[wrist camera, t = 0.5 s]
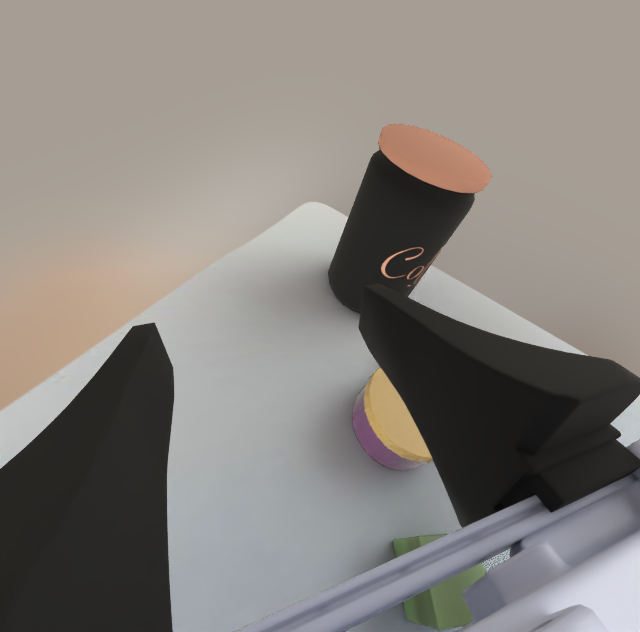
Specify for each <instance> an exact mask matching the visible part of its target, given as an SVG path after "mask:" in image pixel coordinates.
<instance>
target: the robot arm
mask: <svg viewBox="0 0 640 632" xmlns="http://www.w3.org/2000/svg"><path fill="white" fill-rule="evenodd" d="M359 330H360V332H361V334H362V337H363V339H364V341H365V343H366V345H367V347H368V349H369V350H370V352H371V354H372V355H373V357H374V358H375V360H376V361H377V363H378V364H379V366H380V367H381V369H382V370H383V372H384V373H385V374H386V376H387V377H388V379H389V380H390V382H391V383H392V385H393V386H394V388H395V389H396V391H397V392H398V394H399V395H400V397H401V399H402V400H403V402H404V403H405V405H406V407H407V409H408V411H409V413H410V415H411V417H412V418H413V420H414V422H415V424H416V426H417V428H418V430H419V432H420V434H421V436H422V438H423V440H424V442H425V444H426V446H427V448H428V450H429V452H430V455H431V457H432V459H433V461H434V463H435V466H436V468H437V470H438V472H439V474H440V476H441V479H442V481H443V483H444V486H445V488H446V491H447V493H448V495H449V498H450V500H451V503H452V505H453V507H454V510H455V513H456V515H457V518H458V520H459V523H460V525H461V526H462V528H461V529H459V530H457V531H455V532H452V533H450V534H448V535H446V536H444V537H441V538H439V539H437V540H435V541H433V542H430V543H428V544H426V545H424V546H422V547H419V548H417V549H415V550H413V551H411V552H408V553H406V554H404V555H402V556H400V557H397V558H395V559H393V560H391V561H389V562H386V563H384V564H382V565H380V566H377V567H375V568H373V569H371V570H369V571H366V572H364V573H362V574H360V575H358V576H355V577H353V578H351V579H349V580H347V581H344V582H342V583H340V584H338V585H336V586H333V587H331V588H329V589H327V590H325V591H322V592H320V593H318V594H316V595H314V596H311V597H309V598H307V599H305V600H303V601H300V602H298V603H296V604H294V605H292V606H289V607H287V608H285V609H283V610H280V611H278V612H276V613H274V614H272V615H269V616H267V617H265V618H263V619H261V620H258V621H256V622H254V623H252V624H250V625H247V626H245V627H243V628H241V629H239V630H236V631H234V632H344V631H346V630H348V629H350V628H352V627H354V626H356V625H358V624H360V623H362V622H364V621H366V620H368V619H370V618H372V617H374V616H376V615H378V614H380V613H382V612H384V611H386V610H388V609H390V608H392V607H394V606H396V605H398V604H400V603H402V602H404V601H406V600H408V599H410V598H412V597H414V596H416V595H418V594H420V593H422V592H424V591H426V590H428V589H430V588H432V587H434V586H436V585H438V584H440V583H442V582H444V581H446V580H448V579H450V578H452V577H454V576H456V575H458V574H460V573H462V572H464V571H466V570H468V569H470V568H472V567H474V566H476V565H478V564H480V563H482V562H484V561H486V560H488V559H490V558H492V557H494V556H496V555H498V554H500V553H502V552H504V551H506V550H508V549H510V548H511V549H510V557H511V558H509V559H508V560H506V561H504V562H502V563H501V564H499V565H497V566H495V567H494V568H492V569H490V570H489V571H488V572H487V573H486V574H485V575H484V576H483V577H482V578H480V579H479V580H478V581H476V582H475V583H473V584H472V585H471V586H469V587H468V588H466V589H465V590H463V591H462V597H463V599H464V601H465V603H466V605H467V607H468V608H469V610H470V612H471V614H472V618H473V621H472V622H470V623H468V624H467V625H465V626H463V627H461V628H459V629H458V630H456V631H454V632H640V440H638V441H636V442H634V443H632V444H631V445H629V446H628V447H624V446H623V445H622V444H621V443H620V442H618V441H617V440H616V439H617V438H619V437H620V436H621V433H620V432H619V431H618V430H617V429H616V428H614V427H613V426H612V425H611V424H610V423H611V422H612V421H613V420H614V419H615V418H616V417H618V416H619V415H620V414H621V413H622V412H623V411H624V410H625V409H626V408H627V407H628V406H629V405H630V404H631V403H632V402H633V401H634V400H635V399H636V398H637V397H638V396H639V394H640V378H639V377H638V376H636V375H635V374H633V373H631V372H630V371H629V370H627V369H626V368H624V367H622V366H621V365H619V364H618V363H616V362H614V361H612V360H609V359H603V358H597V357H591V356H585V355H579V354H573V353H567V352H562V351H558V350H553V349H548V348H544V347H539V346H535V345H531V344H527V343H523V342H519V341H516V340H512V339H509V338H505V337H502V336H499V335H495V334H492V333H489V332H486V331H483V330H481V329H478V328H475V327H472V326H470V325H467V324H464V323H462V322H459V321H457V320H454V319H452V318H450V317H448V316H445V315H443V314H441V313H438V312H436V311H434V310H432V309H430V308H428V307H426V306H424V305H422V304H420V303H418V302H416V301H414V300H412V299H410V298H408V297H406V296H404V295H402V294H400V293H398V292H396V291H394V290H392V289H390V288H388V287H386V286H383V285H381V284H373V285H367V286H364V288H363V296H362V305H361V313H360V321H359ZM173 404H174V376H173V366H172V364H171V361H170V359H169V357H168V354H167V352H166V349H165V347H164V344H163V342H162V339H161V337H160V335H159V332H158V330H157V327H156V325H155V323H149V324H144V325H138V326H133V327H132V328H131V330H130V331H129V332H128V333H127V335H126V336H125V337H124V338H123V340H122V341H121V342H120V344H119V345H118V346H117V347H116V349H115V350H114V351H113V353H112V354H111V355H110V357H109V358H108V359H107V360H106V362H105V363H104V364H103V365H102V367H101V368H100V369H99V370H98V372H97V373H96V374H95V375H94V377H93V378H92V379H91V380H90V381H89V382H88V383H87V385H86V386H85V387H84V388H83V389H82V390H81V391H80V392H79V394H78V395H77V396H76V397H75V398H74V399H73V400H72V402H71V403H70V404H69V405H68V406H67V407H66V408H65V409H64V410H63V411H62V412H61V413H60V414H59V415H58V416H57V417H56V418H55V419H54V420H53V421H52V422H51V423H50V424H49V425H48V426H47V427H46V428H45V429H44V430H43V431H42V432H41V433H40V434H39V435H38V436H37V437H36V438H35V439H34V440H33V441H32V442H31V443H29V444H28V445H27V446H26V447H25V448H24V449H23V450H22V451H21V452H19V453H18V454H17V455H16V456H15V457H14V458H12V459H11V460H10V461H9V462H8V463H7V464H6V465H4V466H3V467H2V468H1V469H0V632H173V631H172V616H171V600H170V584H169V560H168V532H167V463H168V453H169V443H170V433H171V424H172V414H173Z"/></svg>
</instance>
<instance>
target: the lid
mask: <svg viewBox="0 0 640 632" xmlns="http://www.w3.org/2000/svg"><path fill="white" fill-rule="evenodd" d="M365 388H366V389H365V393H364V397H363V399H364V406H365V410H364V411H365V412H366V415H367V418H368V421H369V425H371V427H372V429H373V431H374V432H375V434H376V435H377V438H379V439H380V440H381V441H382V442H383V443H384V444H385V445H386V446H387V447H388V449H390V450H392V451H393V452H394V453H396V454H398V455H400V457H404V458H406V459H409V460H412V461H414V462H416V461H418V462H427V463H428V462H430V461H433V459H432V457H431V455H430V452H429V450H428V448H427V446H426V444H425V442H424V440H423V438H422V436H421V434H420V432H419V430H418V428H417V426H416V424H415V422H414V420H413V418H412V417H411V415H410V413H409V411H408V409H407V407H406V405H405V403H404V402H403V400H402V399H401V397H400V395H399V394H398V392H397V391H396V389H395V388H394V386H393V385H392V383H391V382H390V380H389V379H388V377H387V376H386V374H385V373H384V372H383V370H382V369H381V367H379V369H378V370H377V371H376V372H375V373H374V374H372V375H371V377H370V380H369V381H368V383H367V385H366V386H365Z"/></svg>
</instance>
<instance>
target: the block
mask: <svg viewBox="0 0 640 632" xmlns="http://www.w3.org/2000/svg"><path fill="white" fill-rule="evenodd" d="M446 535H448V534H441V535H428V536H416V537H409V538H402V539H394V540H393V545H394V551H395V556H396V558H397V557H400V556H402V555H404V554H406V553H408V552H411V551H413V550H415V549H417V548H419V547H422V546H424V545H426V544H428V543H430V542H433V541H435V540H437V539H439V538H441V537H444V536H446ZM485 574H486V572H485V568H484V565H483V562H482V563H480V564H478V565H476V566H474V567H472V568H470V569H468V570H466V571H464V572H462V573H460V574H458V575H456V576H454V577H452V578H450V579H448V580H446V581H444V582H442V583H440V584H438V585H436V586H434V587H432V588H430V589H428V590H426V591H424V592H422V593H420V594H418V595H416V596H414V597H412V598H410V599H408V600H406V601H404V608H405V614H406V619H407V620H408V621H411V622H414V623H417V624H421V625H424V626H427V627H431V628H434V629H437V630H442V629H449V628H455V627H461V626H465V625H467V624H468V623H470V622H472V621H473V618H472V614H471V612H470V610H469V608H468V607H467V605H466V603H465V601H464V599H463V597H462V591H463V590H465V589H466V588H468V587H469V586H471V585H472V584H473V583H475V582H476V581H478V580H479V579H480V578H482V577H483V576H484V575H485Z"/></svg>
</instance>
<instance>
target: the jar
mask: <svg viewBox="0 0 640 632" xmlns="http://www.w3.org/2000/svg"><path fill="white" fill-rule="evenodd" d="M365 389H366V388H365V387H364V388H363V389H362V391H361V392H360V393H359V394H358V396H357V397H356V399H355V402H354V404H353V409H352V422H353V427H354V431H355V434H356V436H357V438H358V440H359V442H360V444H361V445H362V447H363V448H364V450H365V451H366V452H367V453H368V454H369V455H370V456H371V457H372V458H373V459H374V460H376V461H377V462H378V463H380V464H382V465H383V466H386V467H388V468H391V469H394V470H411V469H414V468H416V467H419V466H421V465H423V464H425V463H427V462H418V461H416V462H414V461H412V460H409V459H406V458H404V457H400V455H398V454H396V453H394V452H393V451H392V450H390V449H388V447H387V446H386V445H385V444H384V443H383V442H382V441H381V440H380V439H379V438H377V435H376V434H375V432H374V431H373V429H372V427H371V425H369V421H368V418H367V415H366V412H365V411H364V410H365V406H364V399H363V397H364V393H365Z"/></svg>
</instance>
